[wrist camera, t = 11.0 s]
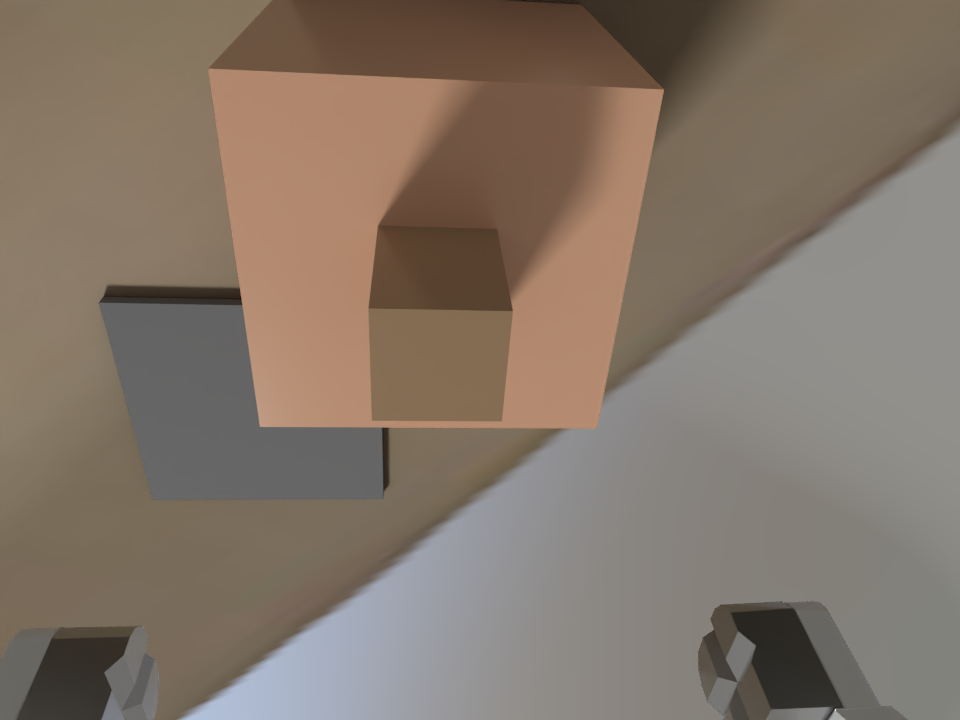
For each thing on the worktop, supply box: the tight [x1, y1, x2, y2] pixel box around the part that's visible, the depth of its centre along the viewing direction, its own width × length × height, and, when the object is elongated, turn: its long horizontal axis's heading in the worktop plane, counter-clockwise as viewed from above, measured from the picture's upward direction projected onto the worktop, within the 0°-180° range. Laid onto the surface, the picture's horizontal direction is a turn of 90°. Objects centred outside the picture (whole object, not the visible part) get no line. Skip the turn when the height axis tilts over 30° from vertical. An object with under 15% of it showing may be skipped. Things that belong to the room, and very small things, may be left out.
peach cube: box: [208, 0, 664, 428], centre depth 22 cm, size 10×10×15 cm
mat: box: [99, 297, 384, 500], centre depth 35 cm, size 12×12×1 cm
